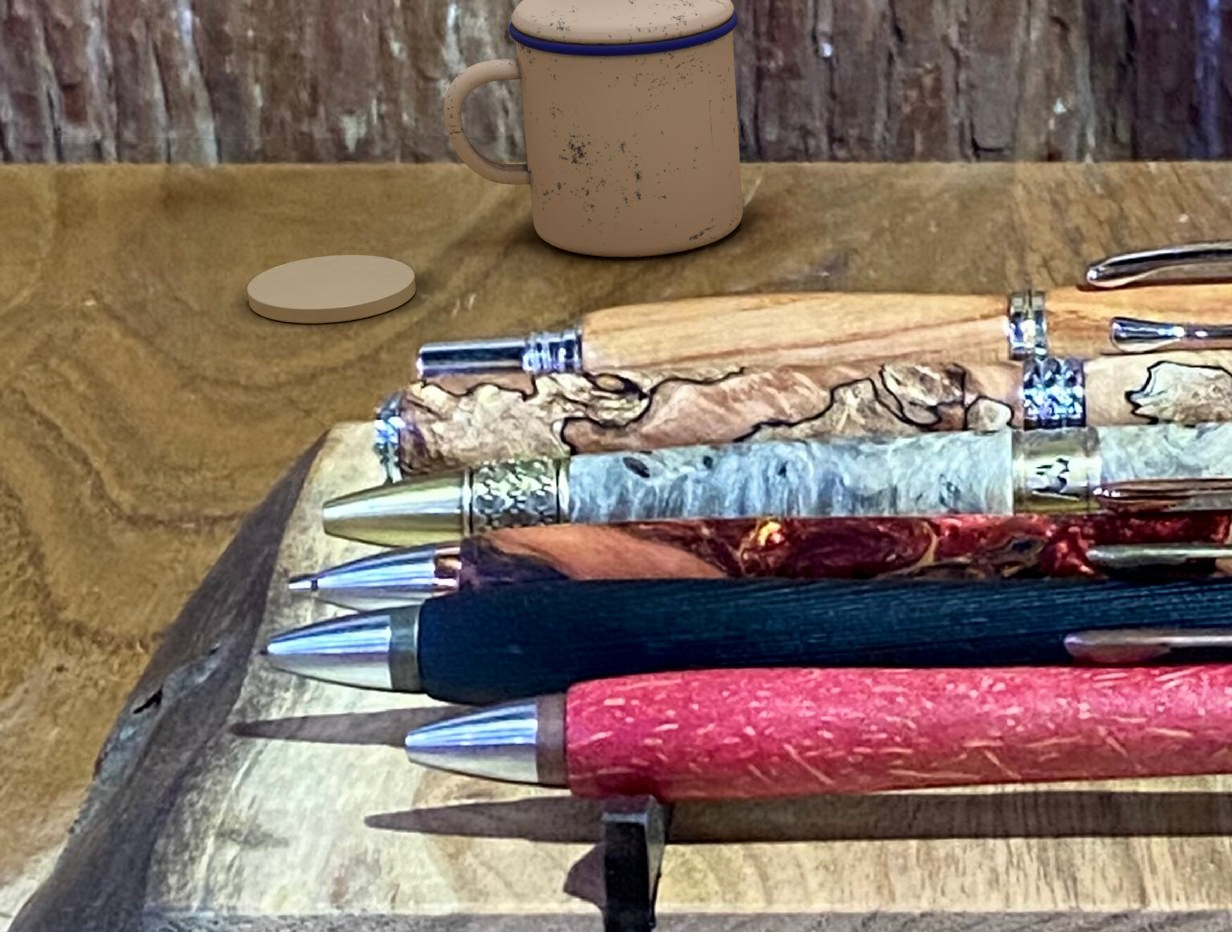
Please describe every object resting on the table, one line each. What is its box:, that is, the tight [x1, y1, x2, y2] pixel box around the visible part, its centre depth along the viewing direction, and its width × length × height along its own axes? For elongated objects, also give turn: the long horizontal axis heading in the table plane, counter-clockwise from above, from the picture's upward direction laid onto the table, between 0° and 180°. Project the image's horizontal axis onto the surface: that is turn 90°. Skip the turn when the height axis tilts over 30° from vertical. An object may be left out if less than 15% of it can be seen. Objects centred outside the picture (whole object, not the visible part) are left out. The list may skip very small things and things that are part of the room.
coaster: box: [246, 254, 417, 324], centre depth 104 cm, size 6×6×1 cm
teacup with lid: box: [443, 0, 744, 258], centre depth 108 cm, size 12×9×12 cm
